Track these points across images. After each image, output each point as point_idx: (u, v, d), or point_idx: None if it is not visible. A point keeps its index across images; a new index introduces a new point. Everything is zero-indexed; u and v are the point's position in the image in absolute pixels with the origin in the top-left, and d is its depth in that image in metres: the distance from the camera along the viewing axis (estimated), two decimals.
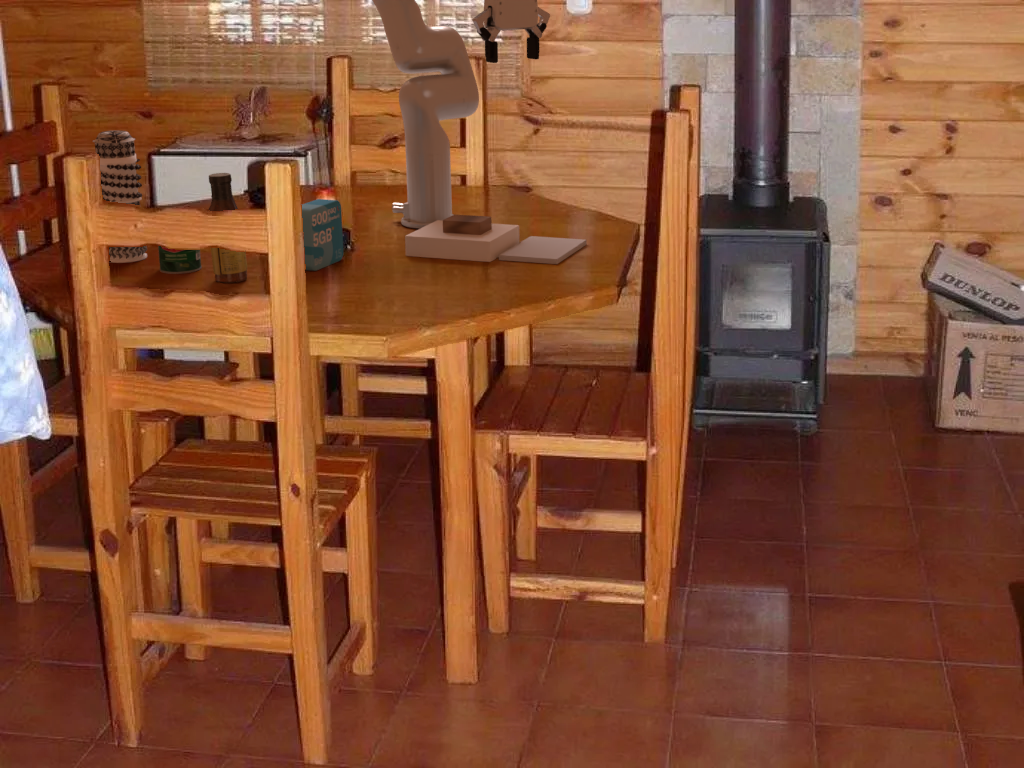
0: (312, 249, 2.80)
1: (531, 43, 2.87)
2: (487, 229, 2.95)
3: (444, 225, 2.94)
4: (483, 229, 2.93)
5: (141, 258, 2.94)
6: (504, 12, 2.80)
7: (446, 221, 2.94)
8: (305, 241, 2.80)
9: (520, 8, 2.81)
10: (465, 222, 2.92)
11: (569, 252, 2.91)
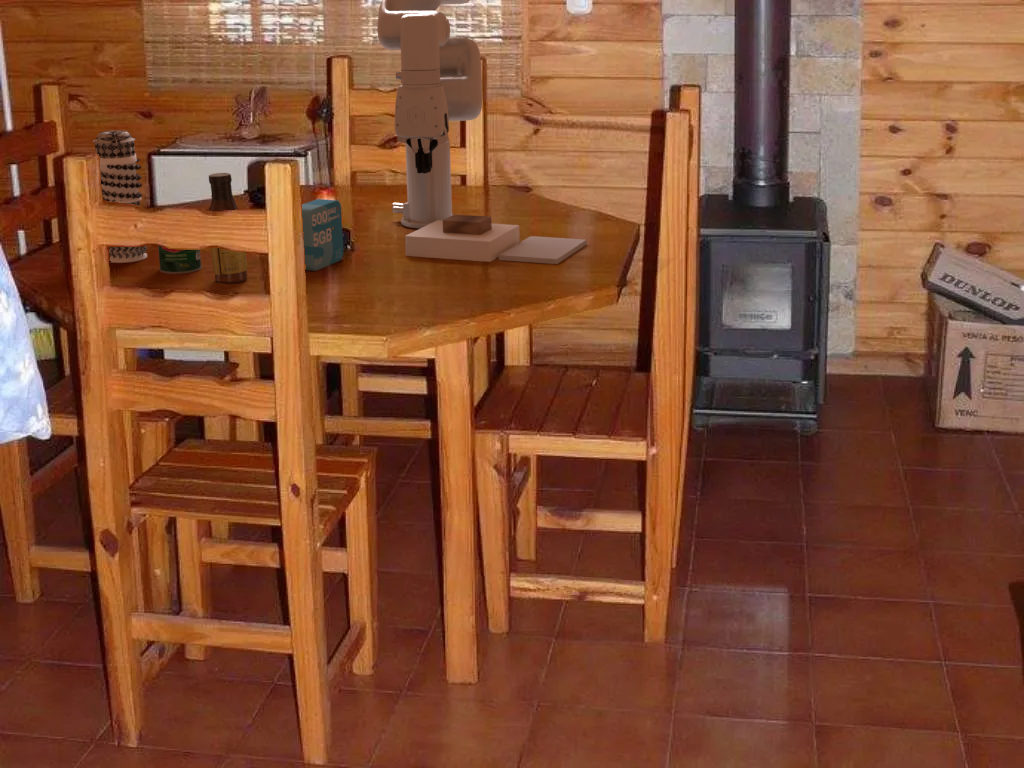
0: (312, 249, 2.80)
1: None
2: (487, 229, 2.95)
3: (444, 225, 2.94)
4: (483, 229, 2.93)
5: (141, 258, 2.94)
6: None
7: (446, 221, 2.94)
8: (305, 241, 2.80)
9: None
10: (465, 222, 2.92)
11: (569, 252, 2.91)
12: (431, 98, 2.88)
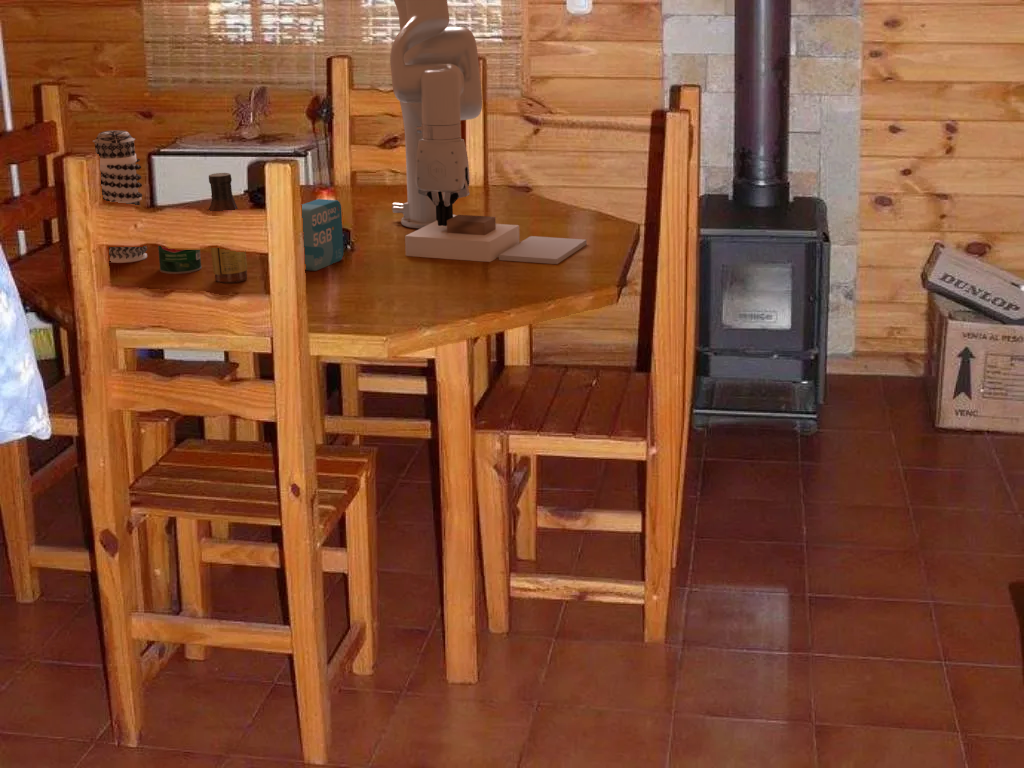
0: (312, 249, 2.80)
1: None
2: (491, 229, 2.95)
3: (448, 225, 2.94)
4: (487, 229, 2.93)
5: (141, 258, 2.94)
6: None
7: (450, 221, 2.94)
8: (305, 241, 2.80)
9: None
10: (469, 222, 2.92)
11: (569, 252, 2.91)
12: (452, 153, 2.89)
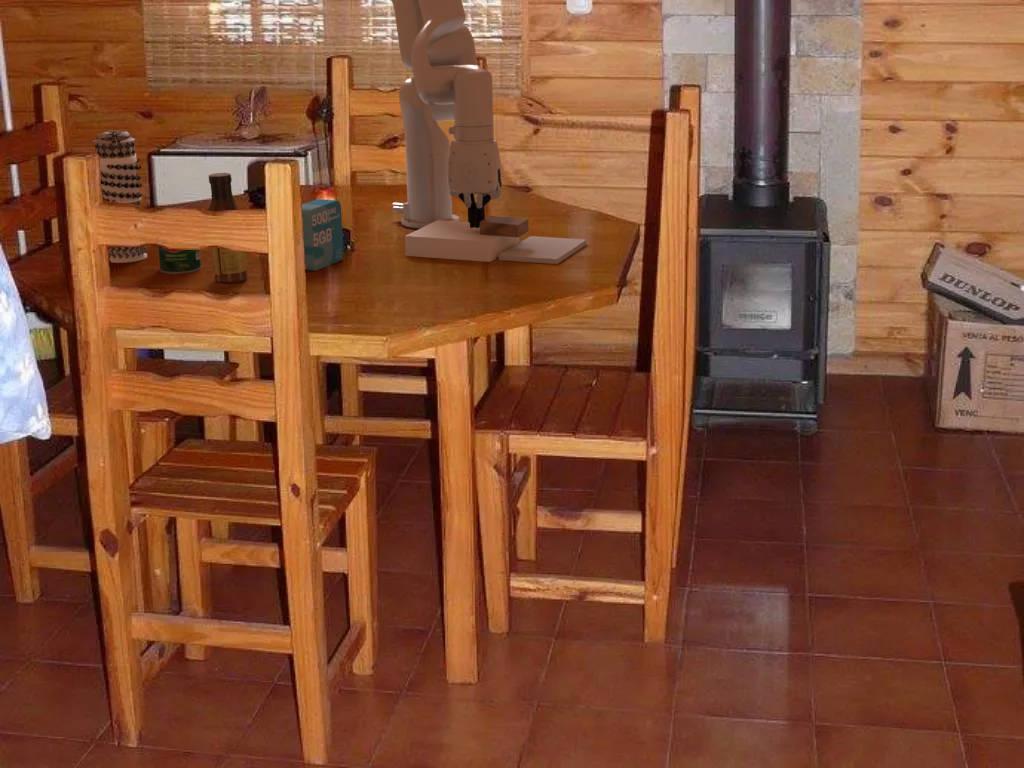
0: (312, 249, 2.80)
1: None
2: (524, 231, 2.93)
3: (481, 227, 2.92)
4: (520, 232, 2.91)
5: (141, 258, 2.94)
6: None
7: (483, 223, 2.91)
8: (305, 241, 2.80)
9: None
10: (502, 224, 2.90)
11: (569, 252, 2.91)
12: (485, 155, 2.87)
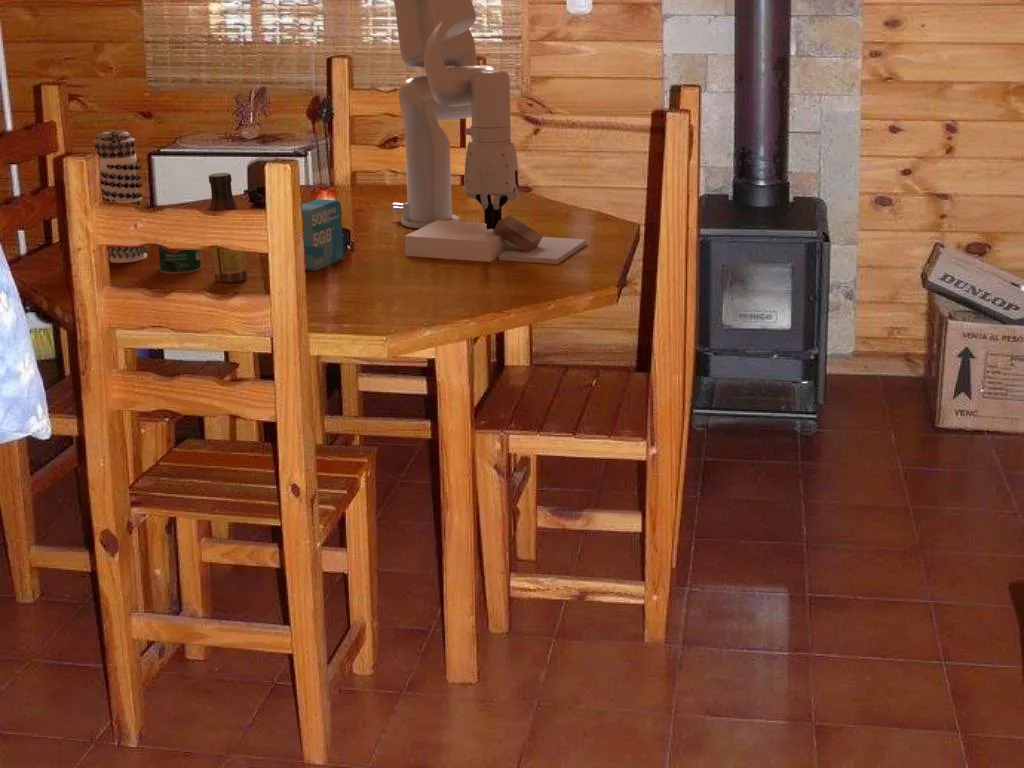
0: (312, 249, 2.80)
1: None
2: (534, 247, 2.93)
3: (497, 226, 2.90)
4: (531, 247, 2.91)
5: (141, 258, 2.94)
6: None
7: (501, 223, 2.90)
8: (305, 241, 2.80)
9: None
10: (518, 234, 2.89)
11: (569, 252, 2.91)
12: (502, 156, 2.86)
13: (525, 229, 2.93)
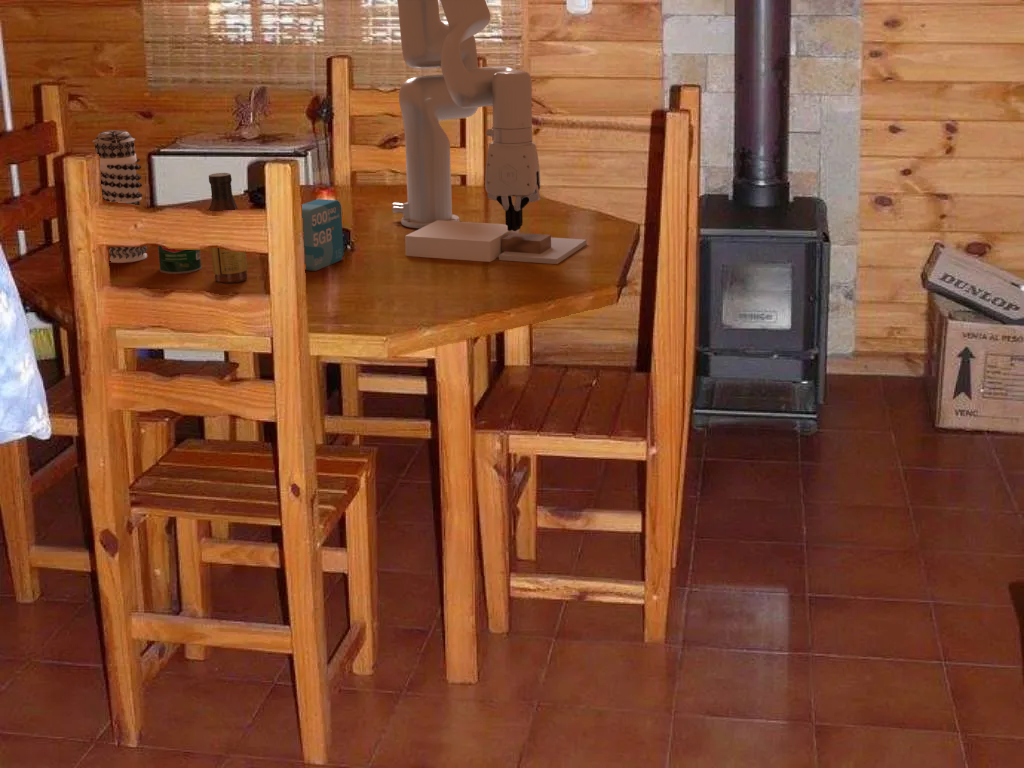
0: (312, 249, 2.80)
1: None
2: (547, 248, 2.92)
3: (503, 244, 2.91)
4: (543, 248, 2.90)
5: (141, 258, 2.94)
6: None
7: (506, 239, 2.91)
8: (305, 241, 2.80)
9: None
10: (525, 241, 2.89)
11: (569, 252, 2.91)
12: (524, 157, 2.84)
13: (531, 236, 2.93)
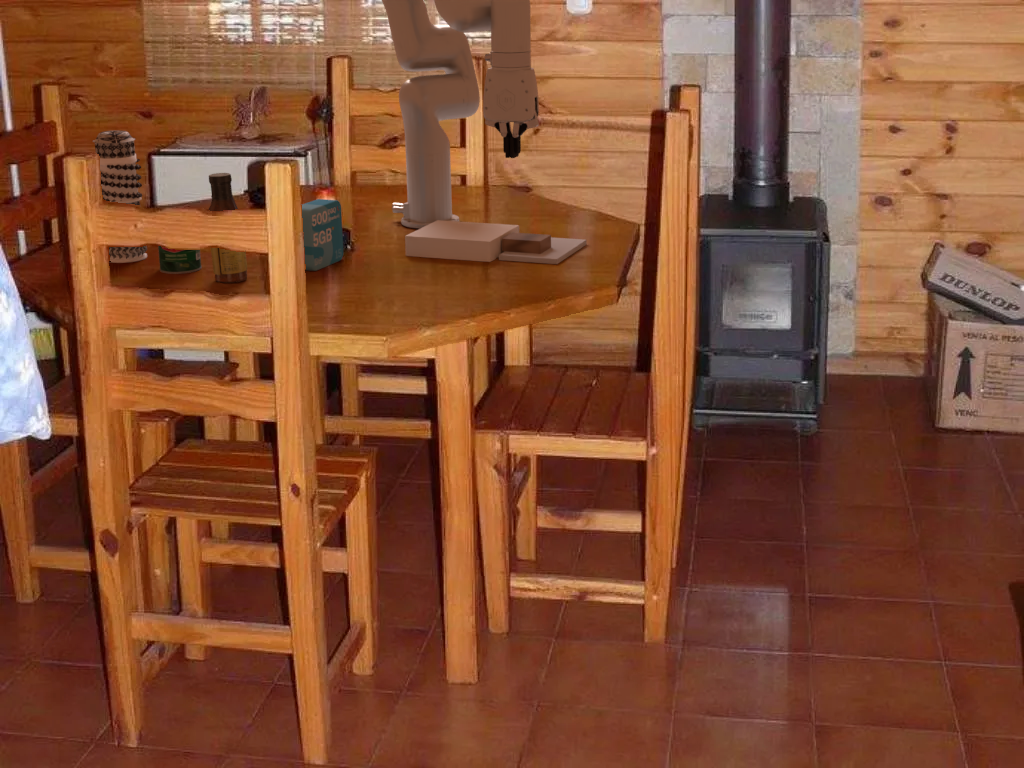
0: (312, 249, 2.80)
1: None
2: (547, 248, 2.92)
3: (503, 244, 2.91)
4: (543, 248, 2.90)
5: (141, 258, 2.94)
6: None
7: (506, 239, 2.91)
8: (305, 241, 2.80)
9: None
10: (525, 241, 2.89)
11: (569, 252, 2.91)
12: (522, 82, 2.81)
13: (531, 236, 2.93)
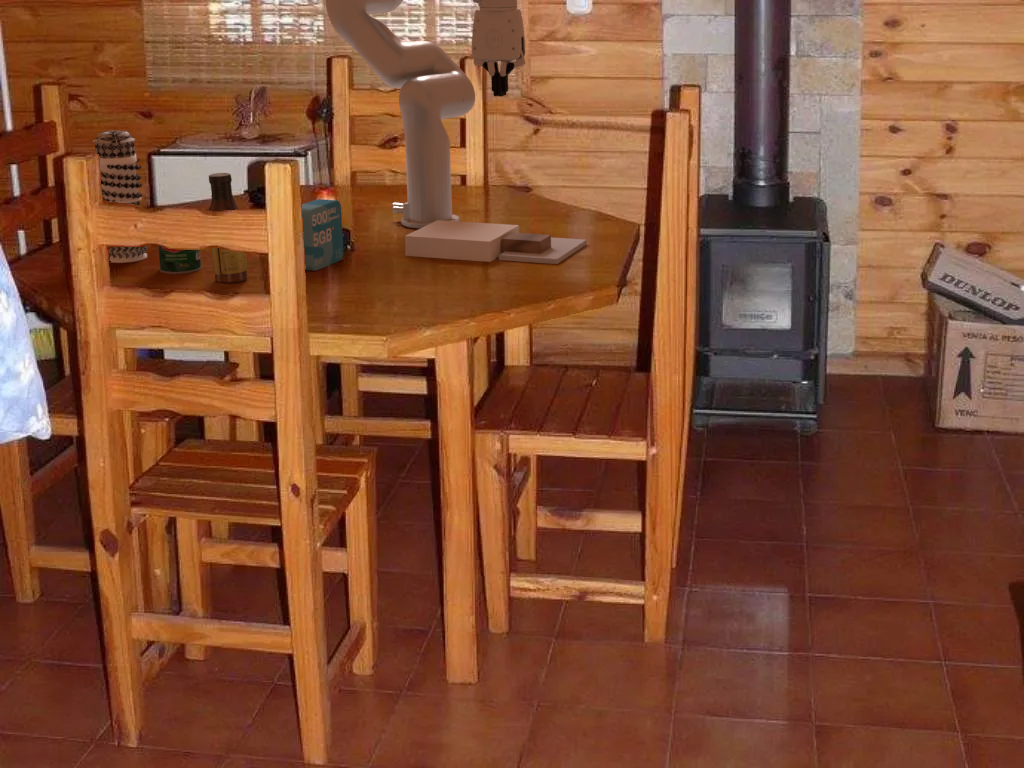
0: (312, 249, 2.80)
1: None
2: (547, 248, 2.92)
3: (503, 244, 2.91)
4: (543, 248, 2.90)
5: (141, 258, 2.94)
6: None
7: (506, 239, 2.91)
8: (305, 241, 2.80)
9: None
10: (525, 241, 2.89)
11: (569, 252, 2.91)
12: (509, 21, 2.92)
13: (531, 236, 2.93)
